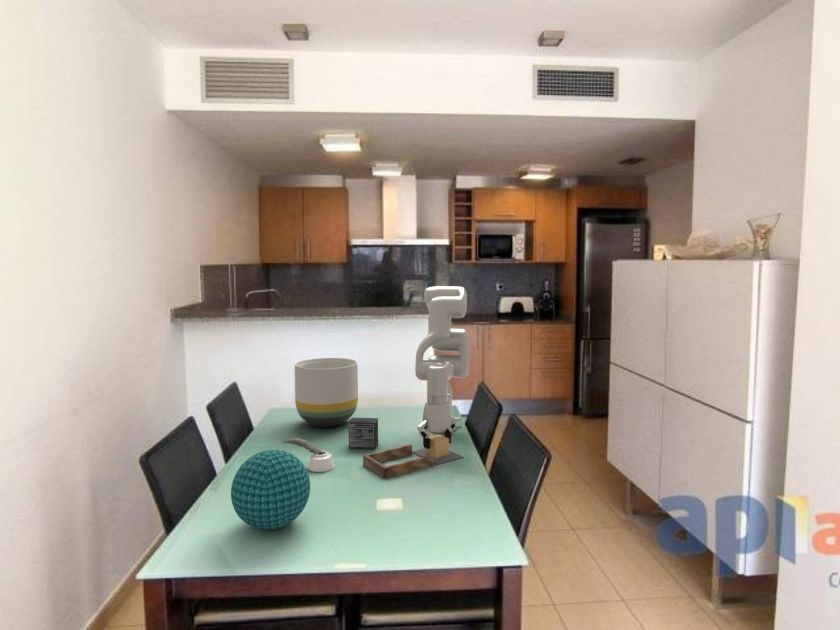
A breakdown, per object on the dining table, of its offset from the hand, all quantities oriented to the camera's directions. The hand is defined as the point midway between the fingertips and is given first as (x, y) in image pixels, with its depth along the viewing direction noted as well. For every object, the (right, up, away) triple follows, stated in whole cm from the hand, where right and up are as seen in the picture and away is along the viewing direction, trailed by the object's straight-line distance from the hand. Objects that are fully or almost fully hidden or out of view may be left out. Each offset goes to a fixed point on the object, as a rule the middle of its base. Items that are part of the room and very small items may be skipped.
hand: (437, 445), depth 190 cm
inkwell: (-45, -5, -11) cm, 46 cm away
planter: (-47, -1, +38) cm, 60 cm away
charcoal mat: (0, -4, 0) cm, 4 cm away
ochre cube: (0, -3, 0) cm, 3 cm away
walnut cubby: (-13, -4, -9) cm, 17 cm away
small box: (-28, -3, +10) cm, 30 cm away
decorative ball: (-45, -9, -52) cm, 69 cm away
